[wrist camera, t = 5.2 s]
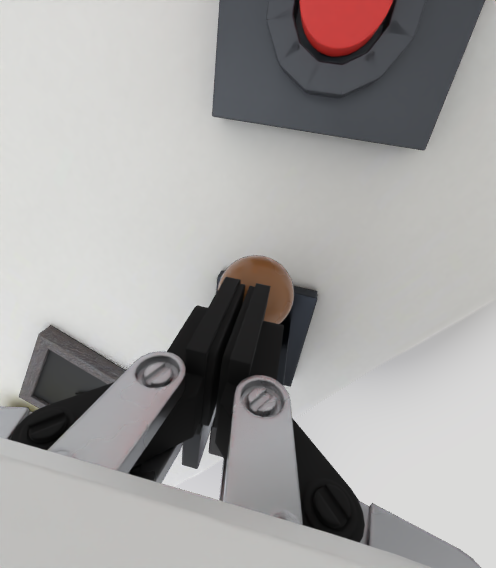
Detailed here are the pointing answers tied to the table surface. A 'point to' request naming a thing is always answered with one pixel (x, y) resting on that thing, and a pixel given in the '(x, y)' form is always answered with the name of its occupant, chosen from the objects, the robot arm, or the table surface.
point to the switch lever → (278, 300)
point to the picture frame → (64, 369)
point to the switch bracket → (289, 358)
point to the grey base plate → (341, 70)
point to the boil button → (341, 23)
